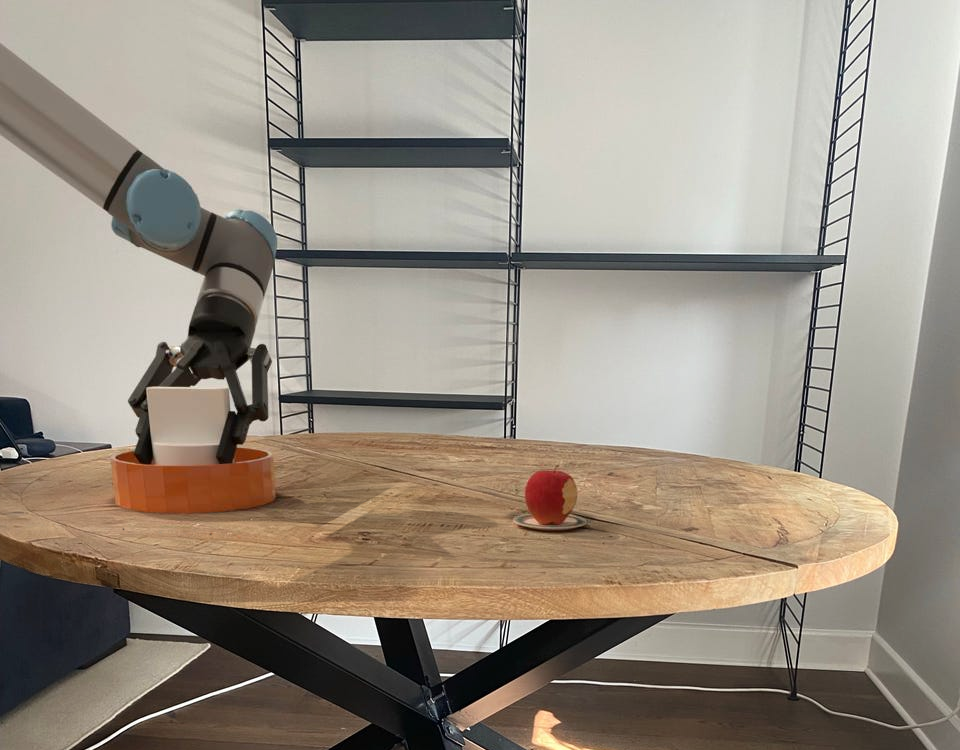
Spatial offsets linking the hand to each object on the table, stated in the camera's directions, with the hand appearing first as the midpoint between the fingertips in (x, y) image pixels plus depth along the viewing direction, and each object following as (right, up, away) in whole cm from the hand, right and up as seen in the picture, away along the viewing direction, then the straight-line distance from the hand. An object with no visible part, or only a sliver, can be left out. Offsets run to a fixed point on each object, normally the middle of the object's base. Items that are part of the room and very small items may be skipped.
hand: (182, 462), depth 103 cm
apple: (+42, -8, -3) cm, 42 cm away
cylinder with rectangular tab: (0, -3, +4) cm, 5 cm away
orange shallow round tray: (0, -4, +5) cm, 6 cm away
